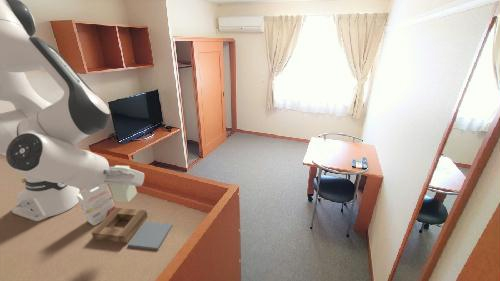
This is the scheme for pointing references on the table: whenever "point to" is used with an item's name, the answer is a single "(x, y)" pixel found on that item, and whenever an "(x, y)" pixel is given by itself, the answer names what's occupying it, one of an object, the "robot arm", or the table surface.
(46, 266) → the table surface
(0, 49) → the robot arm
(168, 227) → the slate rubber pad
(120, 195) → the sage block
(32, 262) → the table surface
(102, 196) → the ink cartridge box
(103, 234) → the walnut puzzle board
